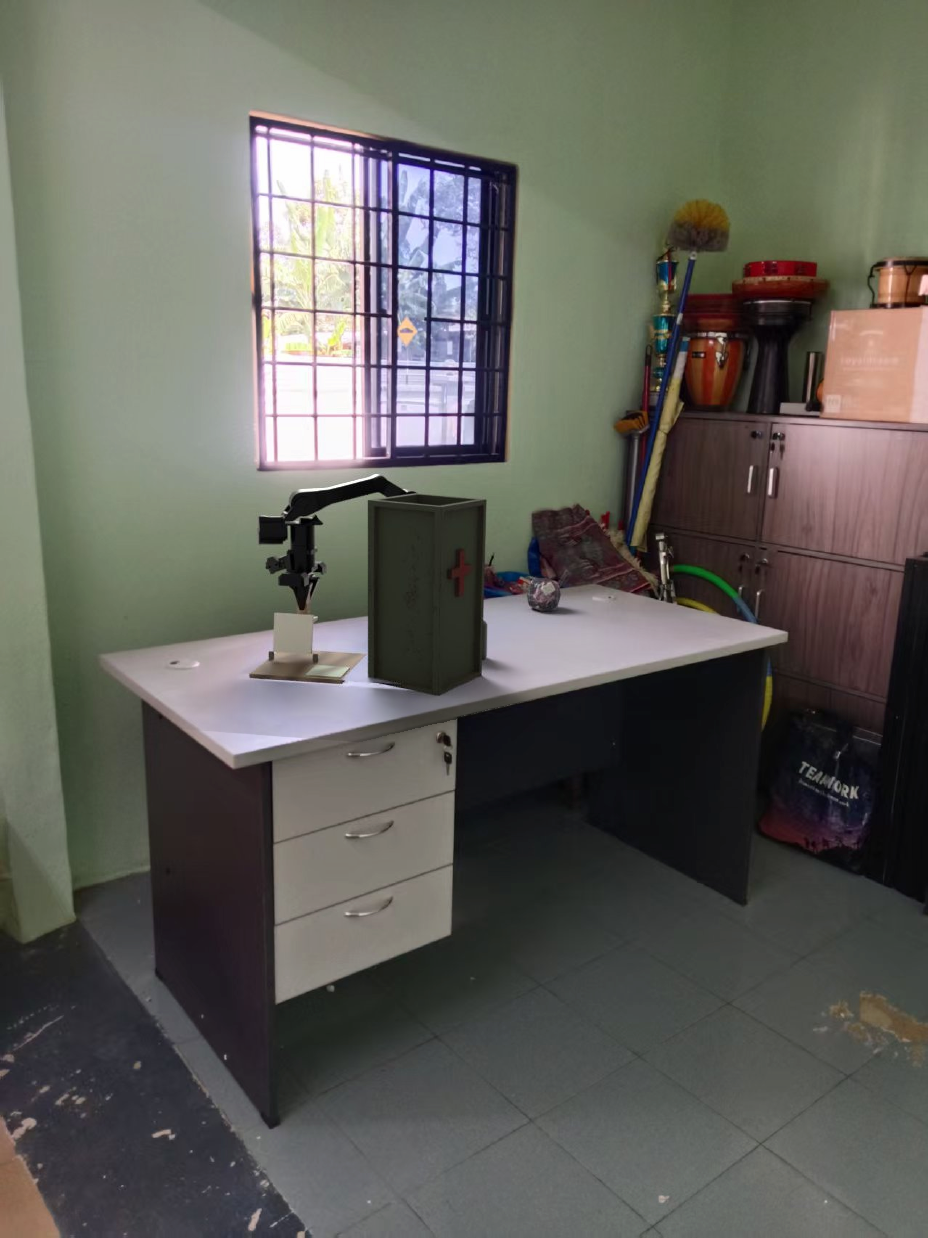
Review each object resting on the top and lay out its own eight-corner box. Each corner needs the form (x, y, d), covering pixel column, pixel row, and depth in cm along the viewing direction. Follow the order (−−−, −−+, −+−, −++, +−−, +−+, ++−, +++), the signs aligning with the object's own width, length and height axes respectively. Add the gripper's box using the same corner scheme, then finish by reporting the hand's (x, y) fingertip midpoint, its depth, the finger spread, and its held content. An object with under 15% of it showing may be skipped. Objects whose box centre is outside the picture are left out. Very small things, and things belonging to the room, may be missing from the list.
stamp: (317, 619, 235) (317, 587, 233) (310, 625, 229) (309, 592, 227) (293, 618, 235) (293, 585, 234) (285, 624, 230) (284, 590, 228)
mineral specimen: (522, 606, 285) (525, 573, 287) (529, 613, 295) (532, 581, 297) (555, 608, 282) (558, 574, 284) (561, 615, 292) (564, 582, 294)
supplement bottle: (490, 656, 238) (491, 608, 236) (481, 663, 232) (483, 614, 229) (463, 653, 241) (464, 605, 238) (454, 660, 234) (455, 611, 232)
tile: (313, 614, 226) (312, 615, 225) (312, 653, 226) (310, 654, 225) (276, 612, 227) (274, 612, 226) (274, 651, 227) (272, 651, 226)
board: (366, 657, 235) (366, 646, 234) (341, 684, 213) (341, 671, 213) (281, 652, 237) (281, 640, 237) (249, 678, 216) (249, 665, 216)
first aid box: (414, 662, 231) (415, 493, 222) (481, 675, 222) (486, 499, 213) (367, 681, 216) (367, 500, 207) (438, 695, 207) (441, 506, 198)
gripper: (282, 536, 239) (284, 599, 243) (255, 548, 221) (257, 615, 225) (326, 538, 238) (327, 601, 241) (303, 550, 220) (304, 618, 223)
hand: (303, 609), depth 233 cm, fingers closed on stamp, 2 cm apart
